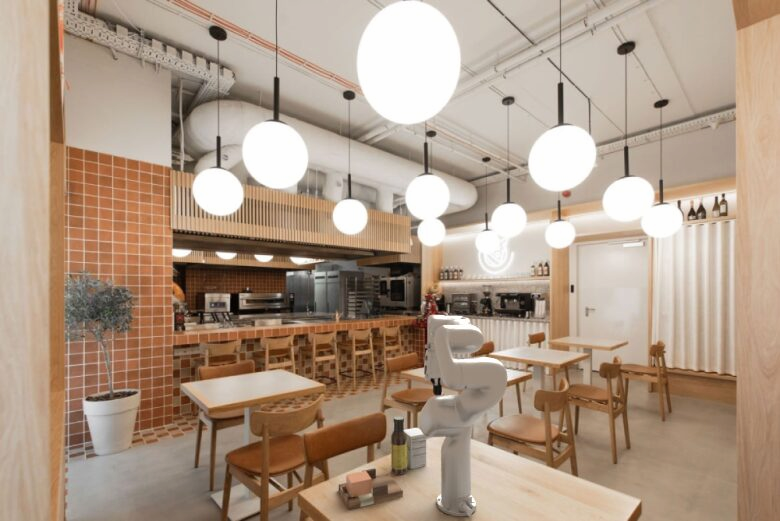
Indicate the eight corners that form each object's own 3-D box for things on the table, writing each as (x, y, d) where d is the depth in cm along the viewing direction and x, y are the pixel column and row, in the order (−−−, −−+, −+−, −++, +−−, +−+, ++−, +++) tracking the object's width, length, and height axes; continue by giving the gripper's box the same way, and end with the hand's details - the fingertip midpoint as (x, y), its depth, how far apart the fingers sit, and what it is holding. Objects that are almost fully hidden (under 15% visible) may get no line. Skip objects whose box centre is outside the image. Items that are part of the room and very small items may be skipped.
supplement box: (401, 461, 148) (401, 429, 149) (417, 458, 151) (417, 426, 152) (410, 470, 141) (410, 436, 142) (426, 466, 144) (426, 433, 145)
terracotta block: (371, 492, 122) (371, 478, 122) (351, 497, 119) (351, 483, 120) (365, 483, 127) (365, 470, 128) (346, 488, 125) (346, 474, 125)
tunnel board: (402, 496, 123) (402, 481, 124) (348, 509, 116) (348, 493, 116) (388, 479, 134) (388, 465, 135) (338, 490, 127) (338, 475, 127)
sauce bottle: (410, 472, 139) (410, 418, 141) (397, 477, 136) (397, 422, 137) (400, 465, 145) (401, 414, 146) (387, 469, 141) (388, 417, 143)
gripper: (424, 349, 136) (425, 400, 135) (458, 347, 142) (459, 395, 141) (415, 346, 143) (415, 394, 142) (448, 344, 149) (448, 390, 147)
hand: (437, 394), depth 141 cm, fingers closed
